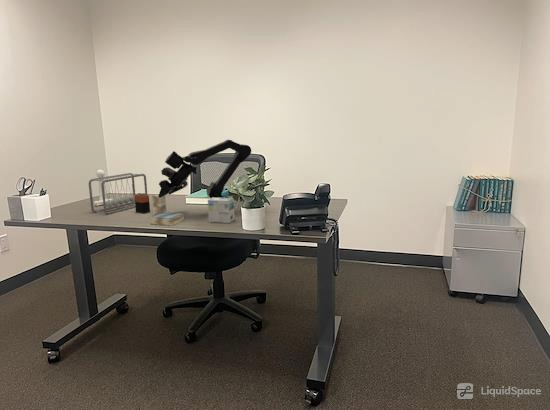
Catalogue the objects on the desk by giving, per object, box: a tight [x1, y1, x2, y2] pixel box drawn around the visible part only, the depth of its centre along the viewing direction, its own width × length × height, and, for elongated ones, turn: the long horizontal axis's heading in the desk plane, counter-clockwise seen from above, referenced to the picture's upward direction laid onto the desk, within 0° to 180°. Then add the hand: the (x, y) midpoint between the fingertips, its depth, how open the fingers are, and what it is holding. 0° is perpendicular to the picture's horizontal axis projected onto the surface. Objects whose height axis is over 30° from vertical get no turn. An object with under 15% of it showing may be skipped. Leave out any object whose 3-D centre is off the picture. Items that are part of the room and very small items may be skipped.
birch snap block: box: [151, 193, 167, 216], centre depth 206 cm, size 5×5×10 cm
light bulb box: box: [207, 197, 236, 224], centre depth 191 cm, size 11×7×11 cm, turn 77°
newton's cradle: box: [88, 172, 148, 215], centre depth 221 cm, size 30×10×18 cm, turn 153°
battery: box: [134, 192, 151, 214], centre depth 212 cm, size 4×7×10 cm, turn 54°
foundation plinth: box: [149, 212, 185, 227], centre depth 191 cm, size 11×11×3 cm
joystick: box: [93, 169, 114, 207], centre depth 231 cm, size 11×8×20 cm
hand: (163, 195), depth 204 cm, fingers open, 9 cm apart
